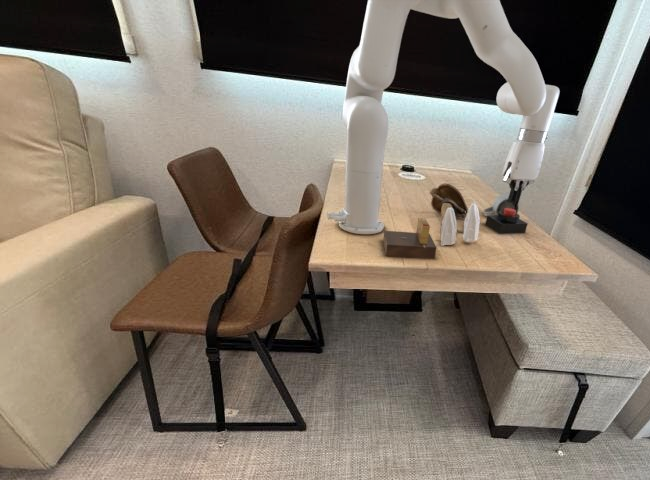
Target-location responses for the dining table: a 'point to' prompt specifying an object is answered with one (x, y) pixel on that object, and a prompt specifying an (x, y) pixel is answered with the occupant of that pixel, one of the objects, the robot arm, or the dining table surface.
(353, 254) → the dining table surface
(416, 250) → the plate
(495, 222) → the bell block
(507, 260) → the dining table surface
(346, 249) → the dining table surface
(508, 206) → the ceramic mug
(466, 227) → the shaker set
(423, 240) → the lock knob
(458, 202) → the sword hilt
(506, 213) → the bell button
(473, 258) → the dining table surface
